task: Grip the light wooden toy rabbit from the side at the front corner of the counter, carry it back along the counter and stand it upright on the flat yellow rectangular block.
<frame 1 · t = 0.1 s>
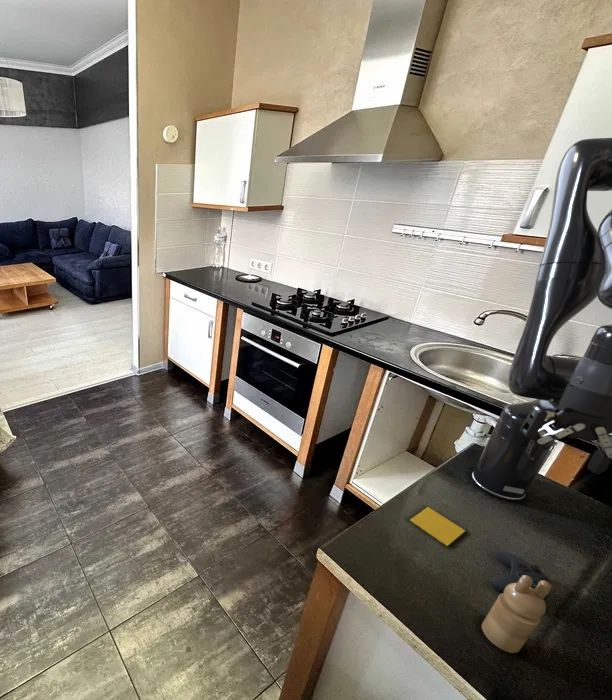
hand: (561, 464, 69), 17 cm above the kitchen counter, tool pointing down, fingers open, 8 cm apart
flat yellow rectangular block: (436, 526, 77), on the kitchen counter
game controller: (515, 584, 66), on the kitchen counter
toy rabbit: (500, 636, 58), on the kitchen counter
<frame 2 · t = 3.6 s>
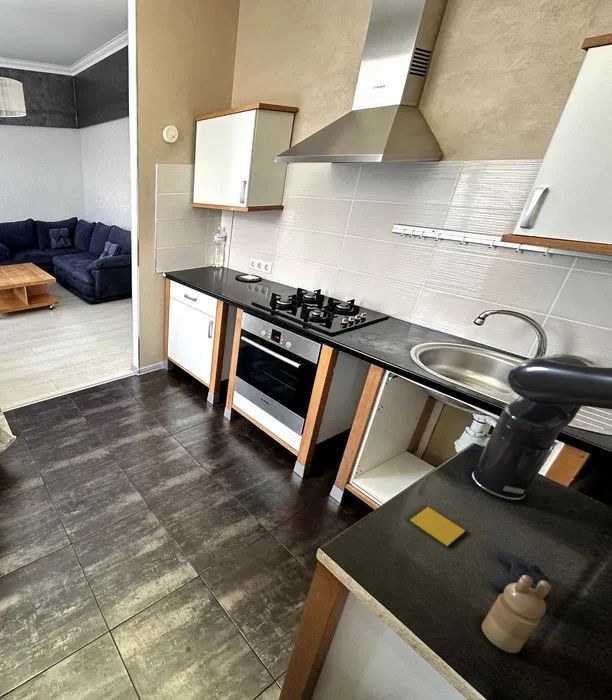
nothing on the kitchen counter moved.
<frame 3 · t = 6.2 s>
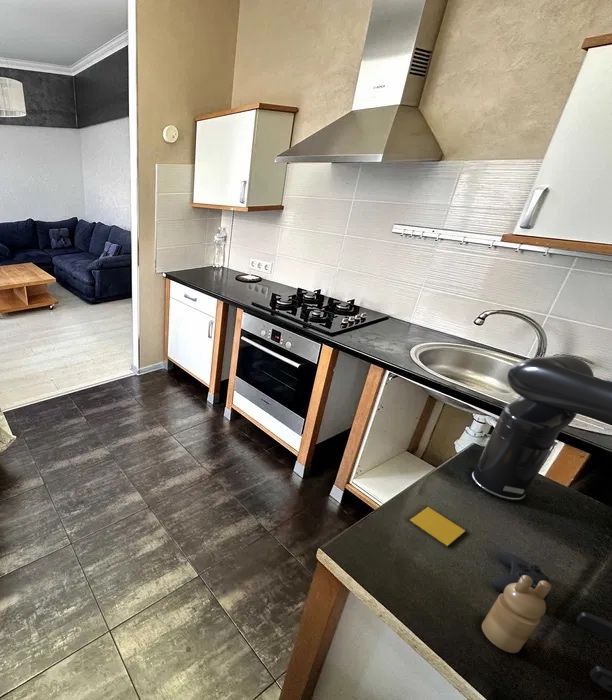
hand: (585, 643, 52), 6 cm above the kitchen counter, tool horizontal, fingers open, 8 cm apart
nothing on the kitchen counter moved.
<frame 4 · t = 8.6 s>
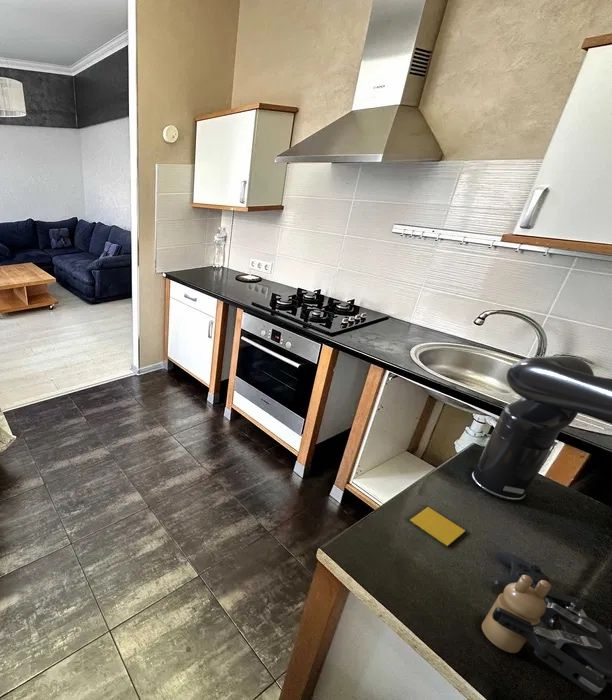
hand: (494, 599, 57), 7 cm above the kitchen counter, tool horizontal, fingers closed on toy rabbit, 4 cm apart
toy rabbit: (500, 636, 58), on the kitchen counter, touching gripper
everything else where it was.
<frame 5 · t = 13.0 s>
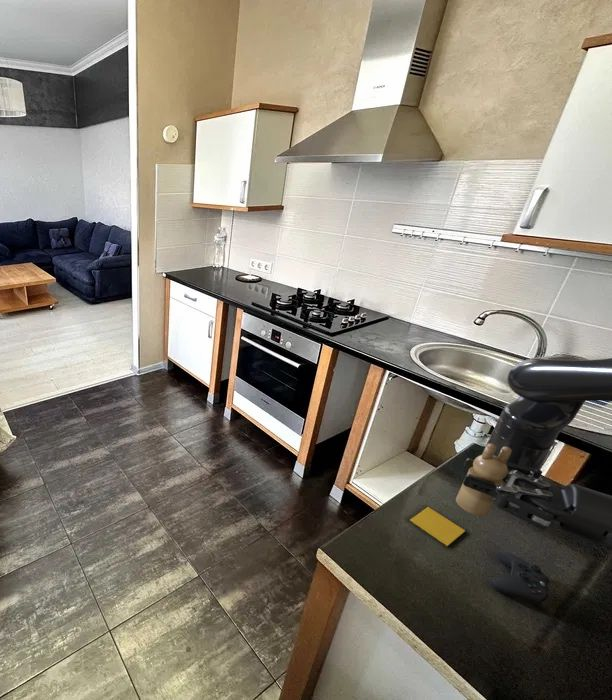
hand: (465, 471, 67), 18 cm above the kitchen counter, tool horizontal, fingers closed on toy rabbit, 4 cm apart
toy rabbit: (471, 505, 68), point 11 cm above the kitchen counter, touching gripper
everything else where it was.
when the fingers open (7 cm above the kitchen counter, at t = 17.2 s): toy rabbit stays where it is, resting on flat yellow rectangular block.
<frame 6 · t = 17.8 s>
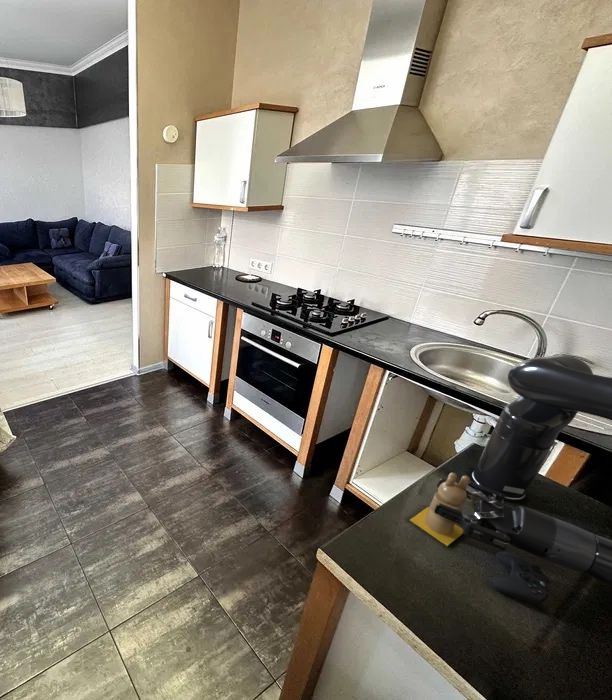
hand: (437, 494, 75), 7 cm above the kitchen counter, tool horizontal, fingers open, 8 cm apart
toy rabbit: (437, 525, 77), resting on flat yellow rectangular block
everything else where it was.
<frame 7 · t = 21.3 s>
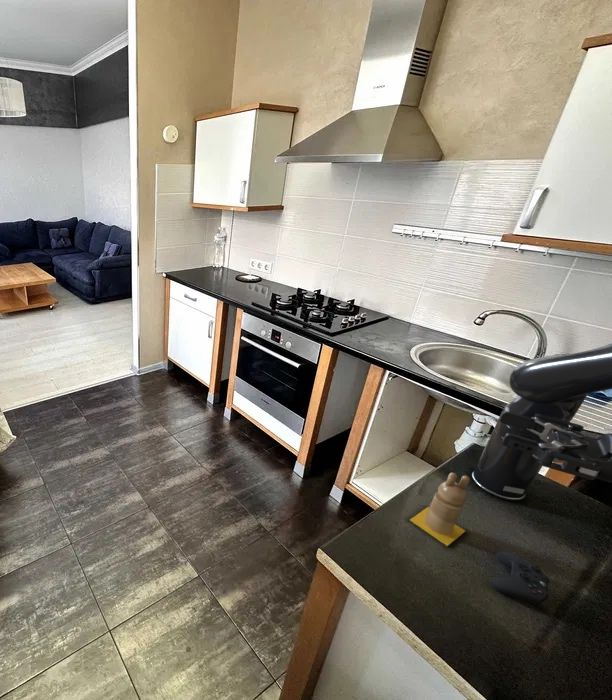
hand: (502, 427, 66), 26 cm above the kitchen counter, tool horizontal, fingers open, 8 cm apart
nothing on the kitchen counter moved.
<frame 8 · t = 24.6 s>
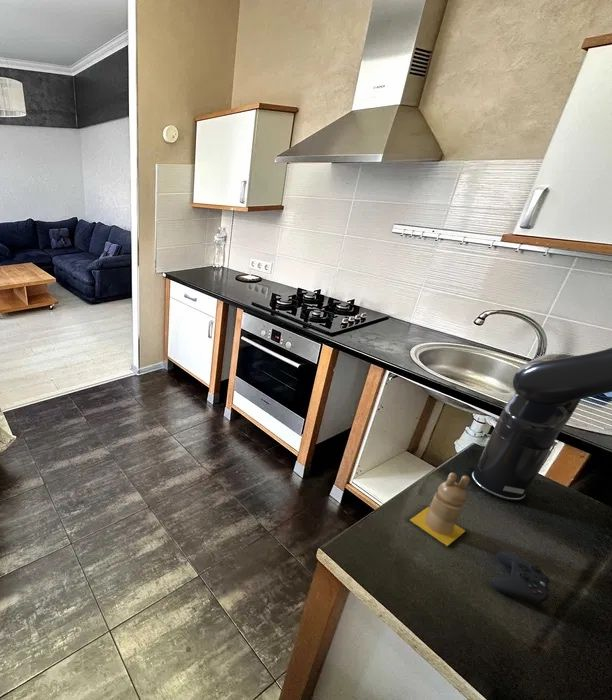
nothing on the kitchen counter moved.
at the end: toy rabbit 0.1 cm off-centre on the flat yellow rectangular block, point 0.3 cm above the flat yellow rectangular block's base; toy rabbit tilted 0°; the gripper is holding nothing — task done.
